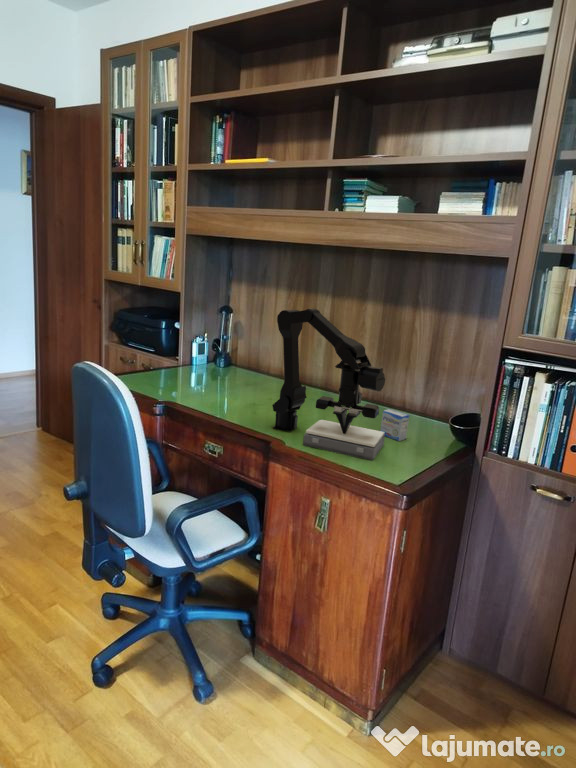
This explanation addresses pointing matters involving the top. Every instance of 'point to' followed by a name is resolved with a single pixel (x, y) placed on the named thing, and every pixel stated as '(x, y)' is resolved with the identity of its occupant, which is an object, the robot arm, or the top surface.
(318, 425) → the tray lid
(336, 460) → the top surface
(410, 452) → the top surface
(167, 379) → the top surface
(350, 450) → the cable tray
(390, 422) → the medicine box
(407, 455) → the top surface
